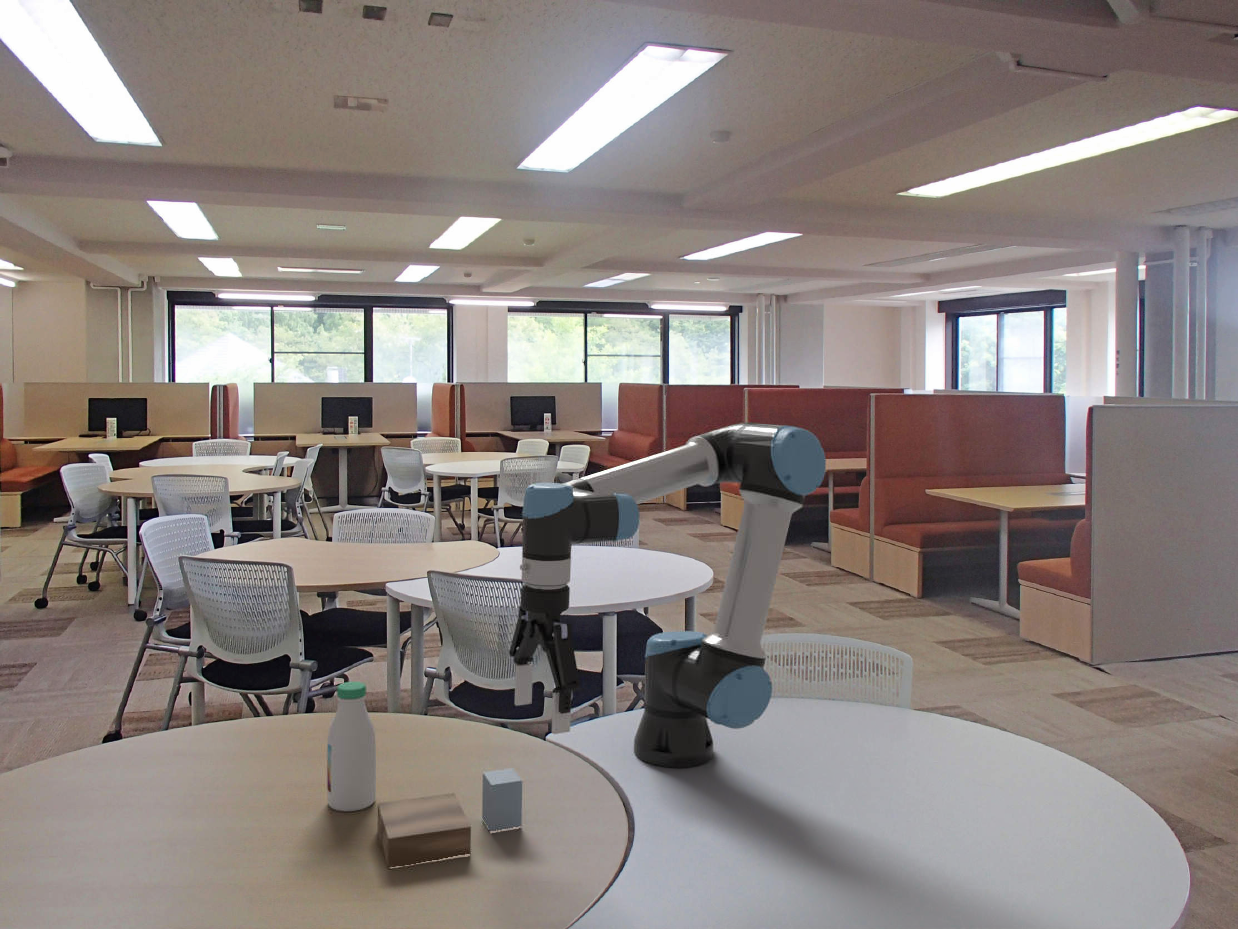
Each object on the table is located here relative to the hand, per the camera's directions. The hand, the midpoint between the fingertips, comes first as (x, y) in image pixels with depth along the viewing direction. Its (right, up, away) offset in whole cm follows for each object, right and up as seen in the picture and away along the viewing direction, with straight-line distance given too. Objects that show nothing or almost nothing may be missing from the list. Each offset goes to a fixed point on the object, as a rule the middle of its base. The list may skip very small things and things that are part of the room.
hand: (541, 717), depth 154 cm
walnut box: (-18, -19, -4) cm, 26 cm away
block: (-7, -18, +3) cm, 19 cm away
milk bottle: (-32, -17, +9) cm, 37 cm away
